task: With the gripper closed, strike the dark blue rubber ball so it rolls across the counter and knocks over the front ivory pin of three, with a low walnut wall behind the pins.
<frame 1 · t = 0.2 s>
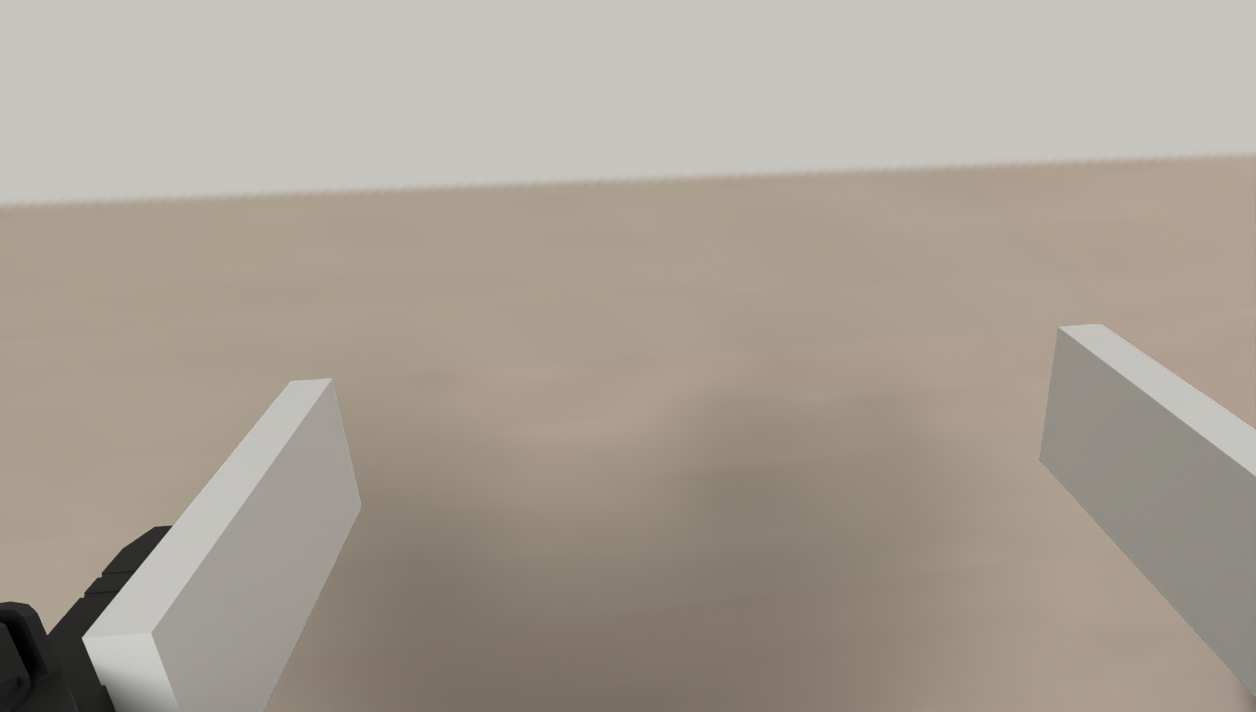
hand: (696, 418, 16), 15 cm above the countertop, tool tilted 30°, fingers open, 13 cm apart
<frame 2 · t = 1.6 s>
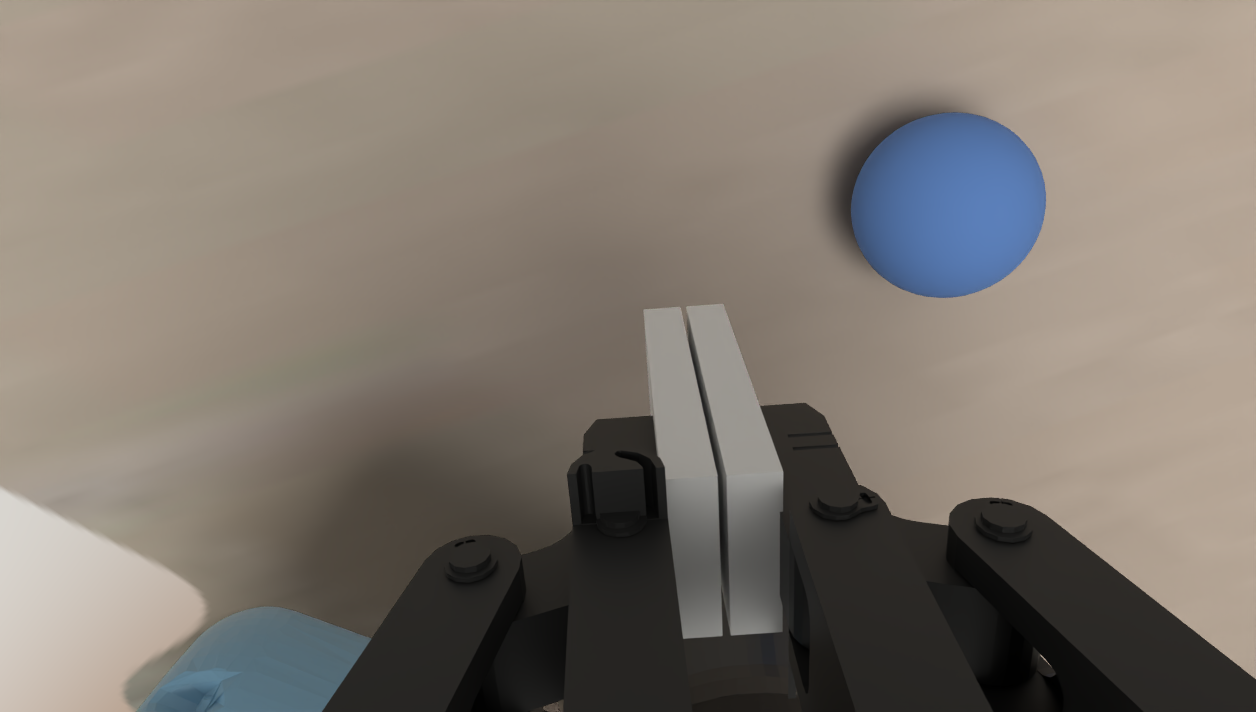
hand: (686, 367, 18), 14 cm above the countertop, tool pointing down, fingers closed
ball: (944, 206, 28), on the countertop
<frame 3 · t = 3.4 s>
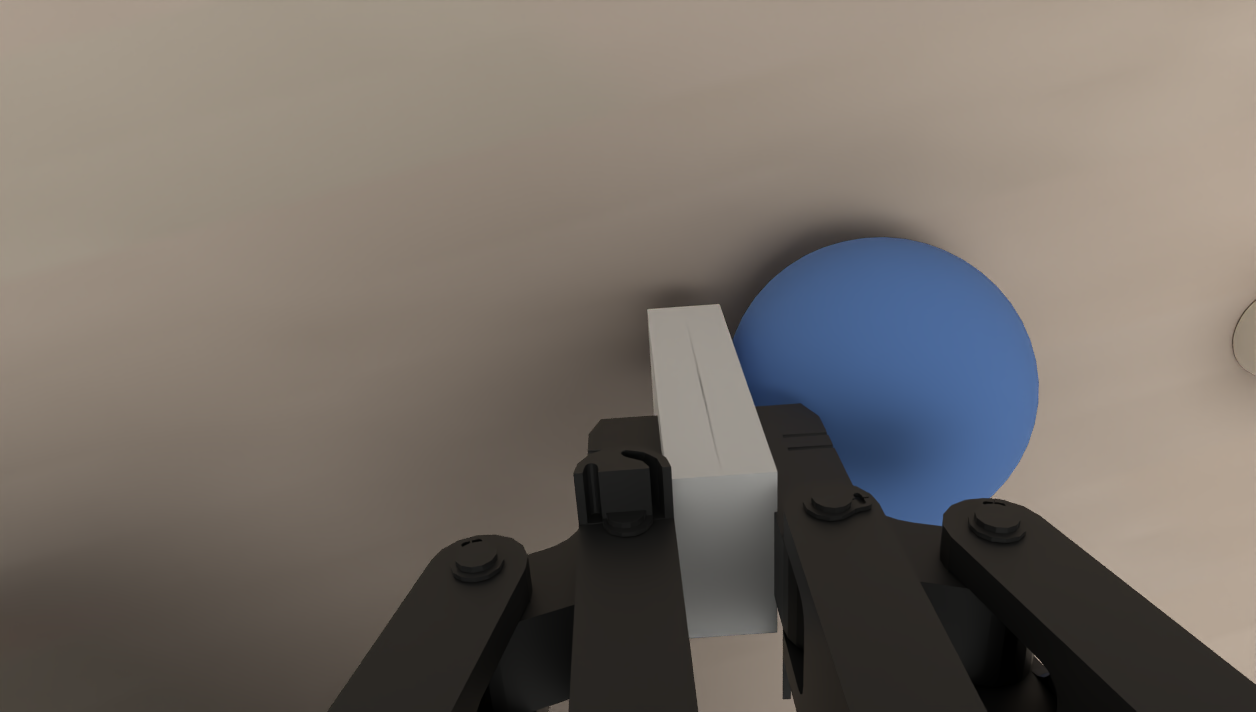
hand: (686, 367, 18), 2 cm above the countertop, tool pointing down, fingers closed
ball: (874, 386, 17), on the countertop
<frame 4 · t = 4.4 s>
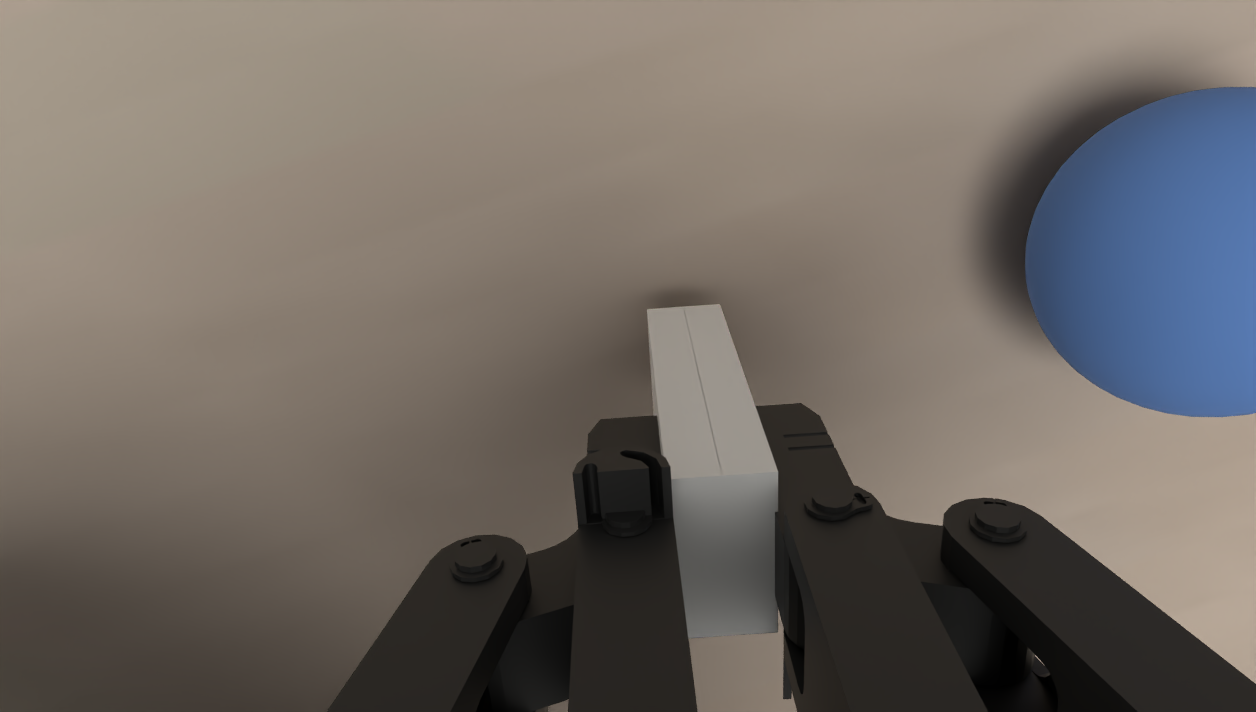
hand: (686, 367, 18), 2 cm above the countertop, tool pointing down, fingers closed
ball: (1202, 255, 16), on the countertop
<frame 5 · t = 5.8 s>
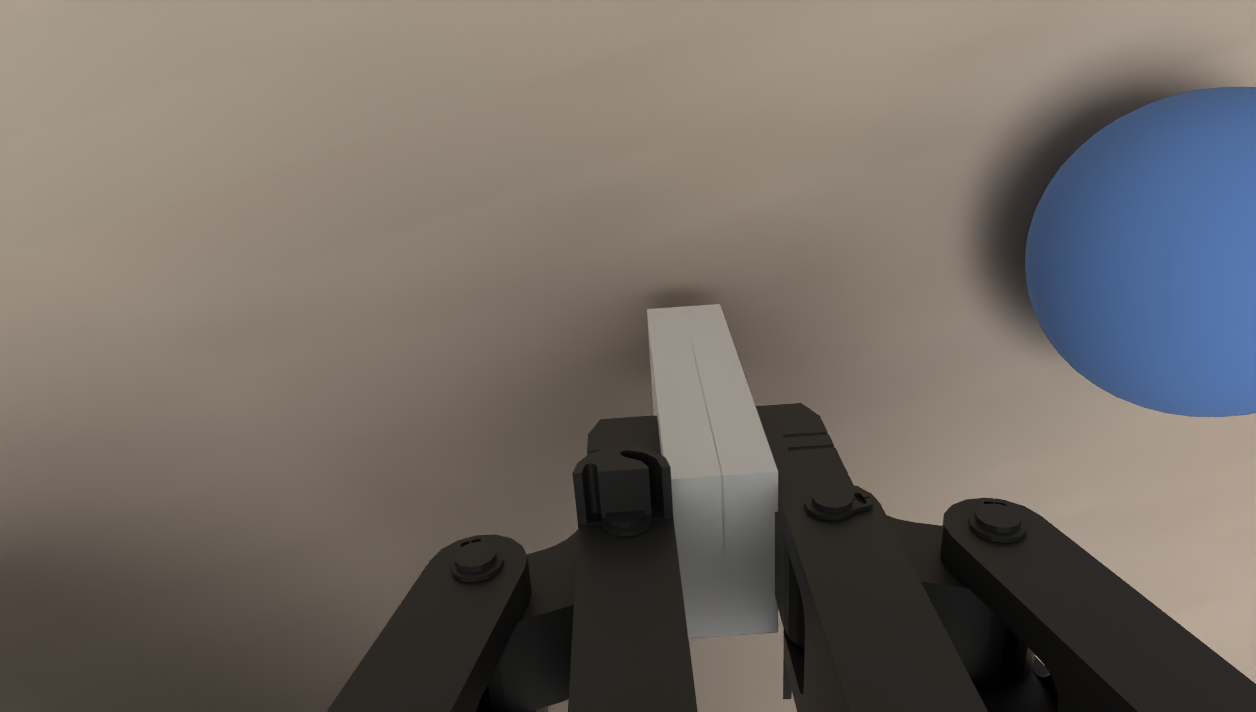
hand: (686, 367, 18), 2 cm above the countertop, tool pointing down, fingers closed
ball: (1202, 255, 16), on the countertop
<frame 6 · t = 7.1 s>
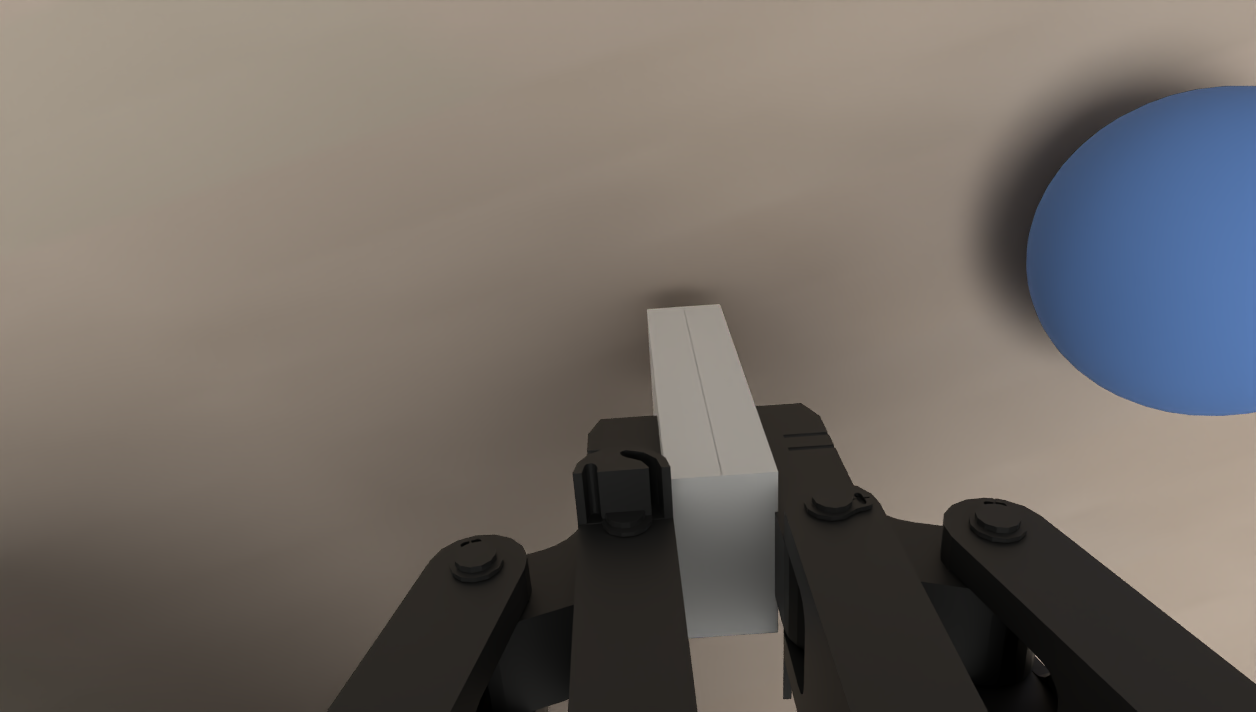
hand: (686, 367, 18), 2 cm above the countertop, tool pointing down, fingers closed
ball: (1204, 254, 16), on the countertop
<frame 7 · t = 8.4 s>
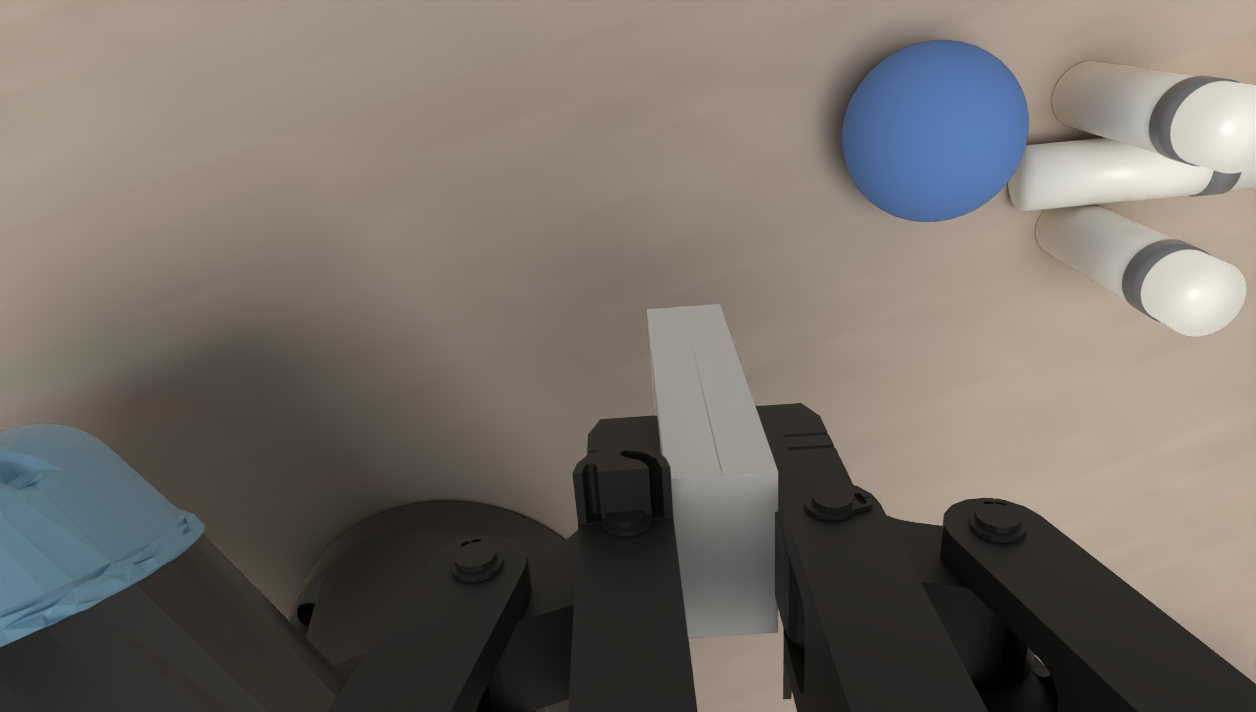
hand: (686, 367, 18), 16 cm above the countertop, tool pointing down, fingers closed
ball: (932, 133, 29), on the countertop
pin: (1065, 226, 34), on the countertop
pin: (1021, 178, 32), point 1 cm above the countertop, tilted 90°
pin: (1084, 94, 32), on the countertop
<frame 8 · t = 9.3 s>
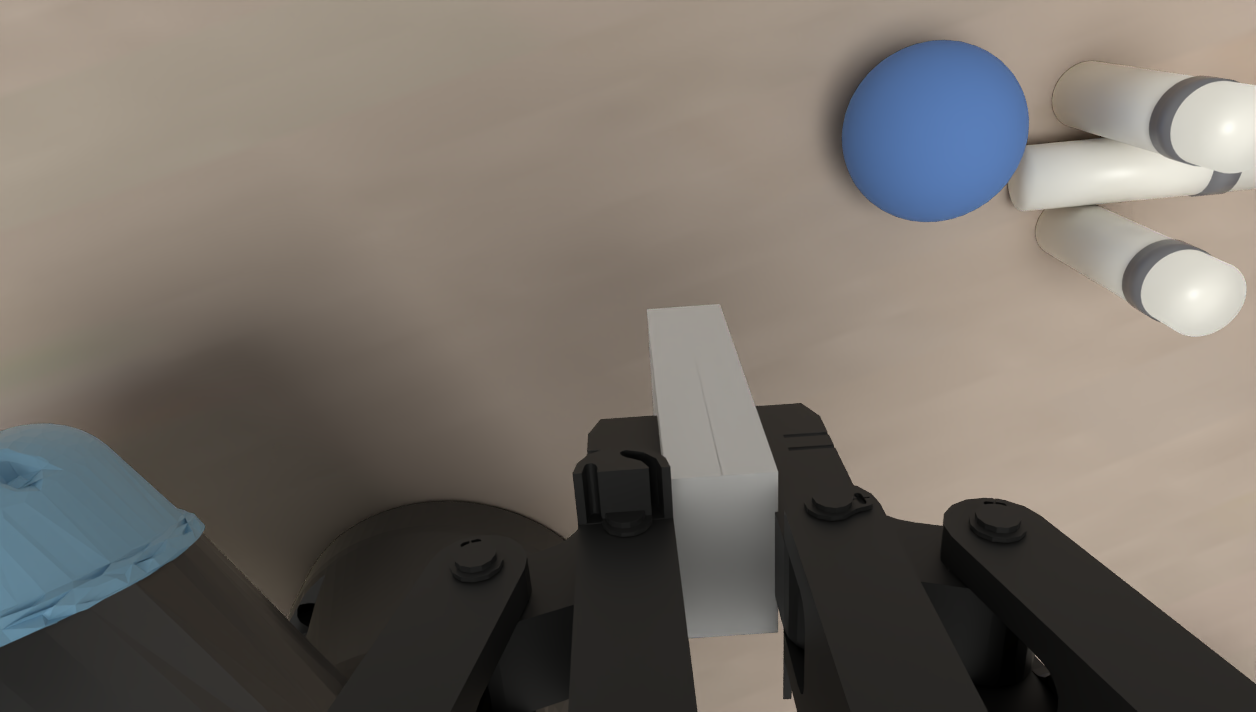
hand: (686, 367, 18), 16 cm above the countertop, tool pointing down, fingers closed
ball: (932, 133, 29), on the countertop
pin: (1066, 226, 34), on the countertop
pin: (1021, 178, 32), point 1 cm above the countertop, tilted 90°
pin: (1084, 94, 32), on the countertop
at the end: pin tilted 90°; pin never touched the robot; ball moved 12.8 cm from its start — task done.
